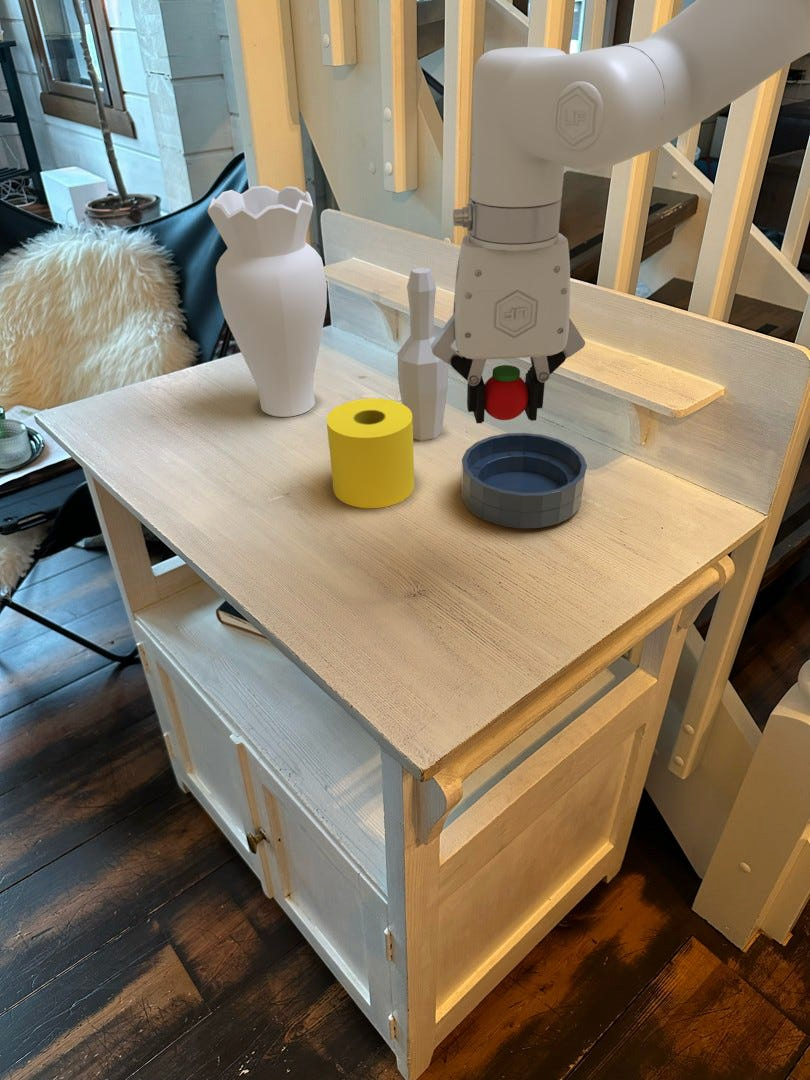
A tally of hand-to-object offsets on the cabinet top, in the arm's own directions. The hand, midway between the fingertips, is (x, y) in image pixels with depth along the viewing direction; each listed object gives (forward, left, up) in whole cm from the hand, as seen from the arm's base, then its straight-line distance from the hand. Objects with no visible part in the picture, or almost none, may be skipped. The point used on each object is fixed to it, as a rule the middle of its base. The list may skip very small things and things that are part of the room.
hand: (504, 414), depth 75 cm
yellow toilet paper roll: (+17, -7, -16) cm, 24 cm away
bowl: (-1, -9, -15) cm, 18 cm away
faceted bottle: (+15, -22, -16) cm, 31 cm away
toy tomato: (0, 0, 0) cm, 0 cm away
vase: (+37, -25, -16) cm, 47 cm away
